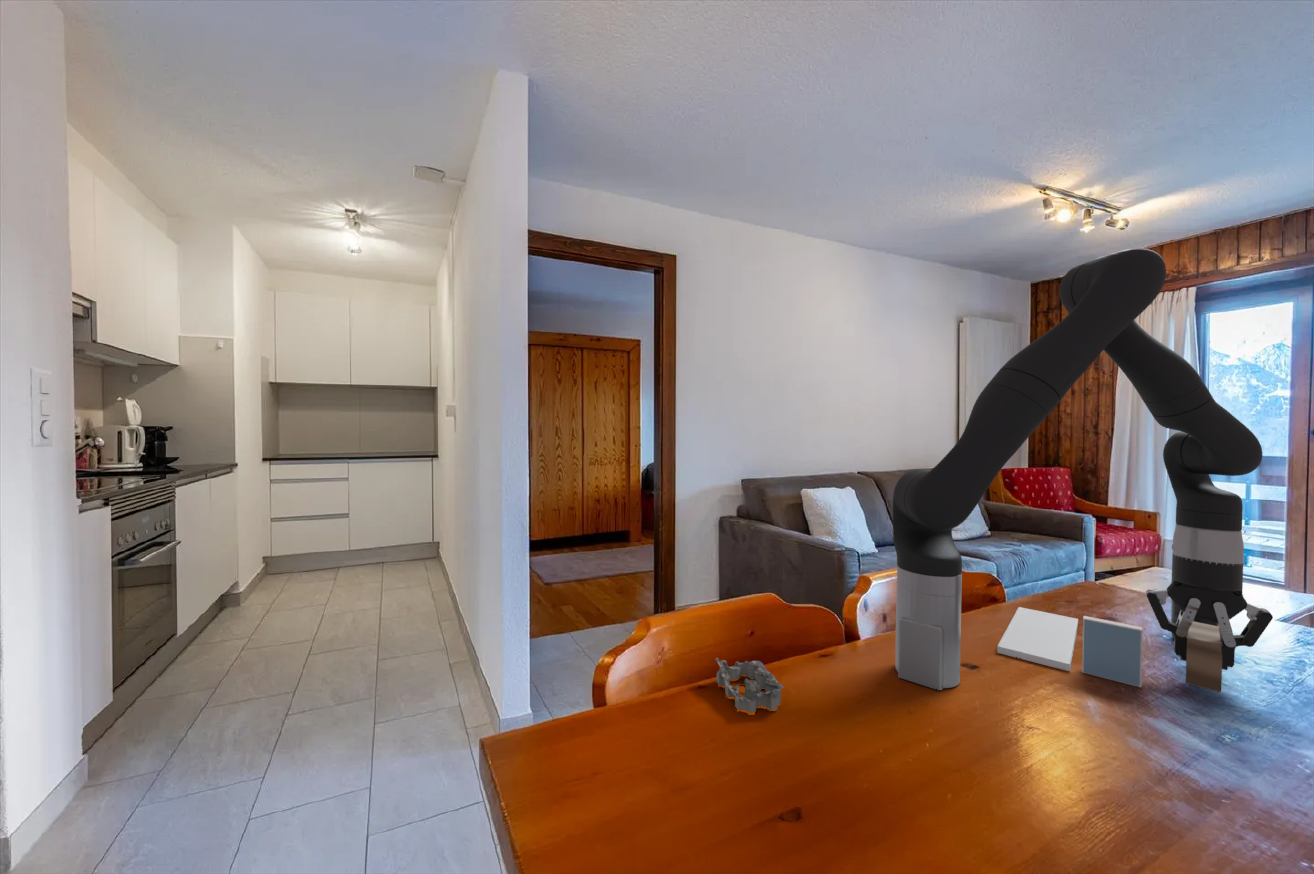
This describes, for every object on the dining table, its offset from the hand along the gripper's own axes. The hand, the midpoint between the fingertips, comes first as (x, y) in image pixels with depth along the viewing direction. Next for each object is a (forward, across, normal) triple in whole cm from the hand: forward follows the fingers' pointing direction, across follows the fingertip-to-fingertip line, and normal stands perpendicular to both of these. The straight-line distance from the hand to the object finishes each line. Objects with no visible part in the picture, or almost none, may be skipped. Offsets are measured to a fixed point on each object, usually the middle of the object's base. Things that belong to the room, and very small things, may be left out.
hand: (1203, 662), depth 78 cm
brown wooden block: (+1, 0, 0) cm, 1 cm away
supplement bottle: (+3, +1, +22) cm, 22 cm away
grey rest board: (+3, -21, +4) cm, 21 cm away
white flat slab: (+3, -11, -8) cm, 14 cm away
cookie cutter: (+4, -50, -53) cm, 74 cm away
